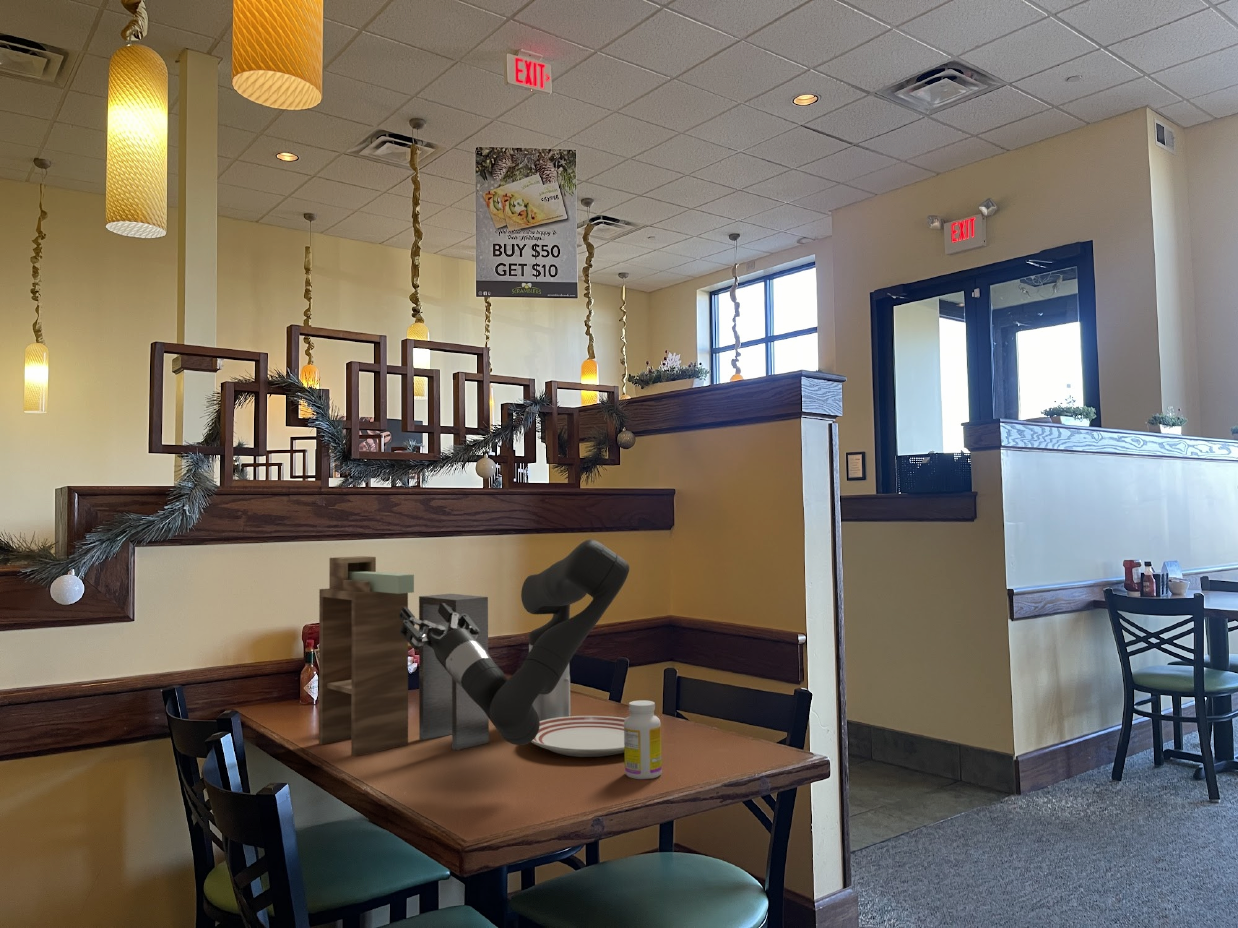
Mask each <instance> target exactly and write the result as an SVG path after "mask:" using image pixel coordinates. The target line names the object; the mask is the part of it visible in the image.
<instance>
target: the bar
mask: <svg viewBox="0 0 1238 928" xmlns="http://www.w3.org/2000/svg"><path fill="white" fill-rule="evenodd" d="M348 580H355V581H367V582H370V591H376V592H386V593H396V594H401V593H408V594H410V593H411V594H413V593H415V575H414V574H410V573H407V574H406V573H397V572H396V573H392V572H379V571H376V572H368V571H348Z"/></svg>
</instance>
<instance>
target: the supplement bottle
mask: <svg viewBox="0 0 1238 928" xmlns="http://www.w3.org/2000/svg"><path fill="white" fill-rule="evenodd" d="M655 709H656V704H655V702H654V701H652V700H641V699H640V700H633V701H630V702H628V710H629V713H630V714H629V716H627V717H625V718H626V719H625V721H624V750H625V752H624V772H625V775H626V776H627V777H628V778H631V779H634V780H650V779H656V778H658V777H660V776H661V774H662V771H663V770H662V766H663V765H662V730H661V728H662V726H661V725H662V724H661V720H660V718H659V717H658V716H657V715H655V713H654V712H655Z"/></svg>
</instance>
